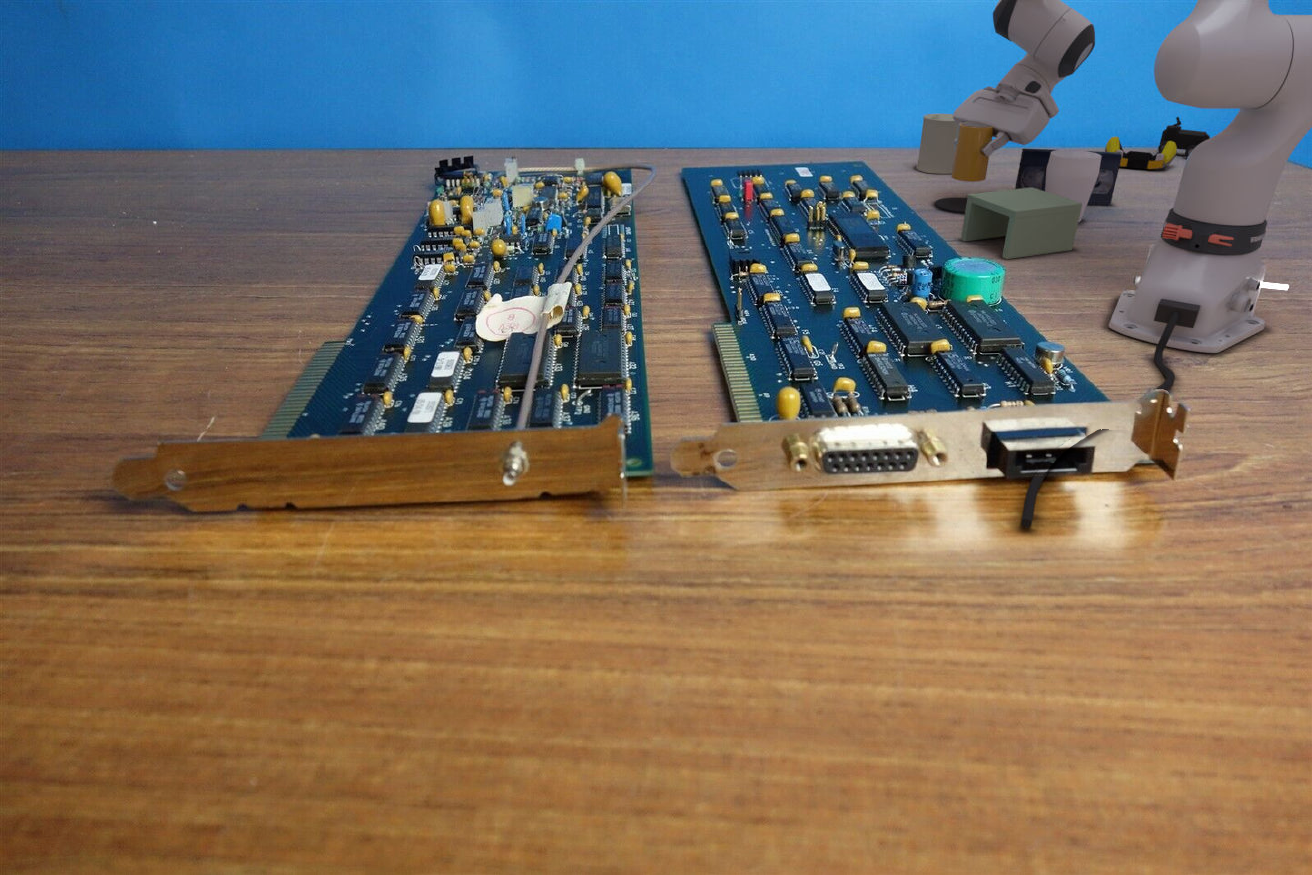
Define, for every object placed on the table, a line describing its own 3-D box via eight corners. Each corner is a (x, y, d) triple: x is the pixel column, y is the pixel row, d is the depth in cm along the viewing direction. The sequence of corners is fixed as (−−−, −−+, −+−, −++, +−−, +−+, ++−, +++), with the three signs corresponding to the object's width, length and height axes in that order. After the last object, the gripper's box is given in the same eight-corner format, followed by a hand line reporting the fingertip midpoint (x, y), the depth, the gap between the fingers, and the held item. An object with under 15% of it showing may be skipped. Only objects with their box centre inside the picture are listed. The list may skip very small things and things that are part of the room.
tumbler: (976, 183, 178) (985, 129, 173) (945, 178, 182) (953, 124, 177) (991, 177, 182) (1000, 124, 177) (959, 172, 186) (967, 120, 181)
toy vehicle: (1161, 150, 234) (1170, 113, 229) (1228, 157, 226) (1239, 120, 222) (1154, 155, 228) (1164, 118, 224) (1223, 163, 220) (1234, 125, 216)
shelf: (1023, 231, 170) (1031, 187, 166) (1072, 250, 160) (1082, 203, 156) (960, 239, 165) (967, 194, 161) (1006, 259, 155) (1015, 211, 151)
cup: (1092, 227, 172) (1107, 161, 166) (1040, 224, 174) (1054, 158, 168) (1082, 214, 180) (1097, 150, 174) (1033, 211, 182) (1046, 148, 176)
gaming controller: (1103, 158, 224) (1100, 166, 217) (1108, 135, 222) (1106, 142, 214) (1172, 165, 219) (1172, 173, 211) (1178, 140, 216) (1178, 148, 208)
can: (907, 167, 215) (914, 113, 210) (939, 163, 219) (947, 110, 213) (934, 175, 208) (942, 119, 202) (966, 171, 211) (975, 116, 206)
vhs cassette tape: (1013, 200, 189) (1023, 150, 184) (1012, 197, 192) (1021, 147, 187) (1111, 206, 185) (1123, 155, 180) (1108, 202, 188) (1120, 152, 183)
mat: (977, 217, 178) (978, 214, 178) (924, 207, 184) (925, 204, 184) (1001, 206, 185) (1002, 203, 185) (949, 197, 191) (950, 194, 191)
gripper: (976, 74, 184) (928, 129, 186) (1051, 89, 168) (998, 149, 169) (991, 96, 188) (943, 150, 189) (1065, 113, 171) (1013, 171, 173)
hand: (970, 149), depth 179 cm, fingers closed on tumbler, 6 cm apart
